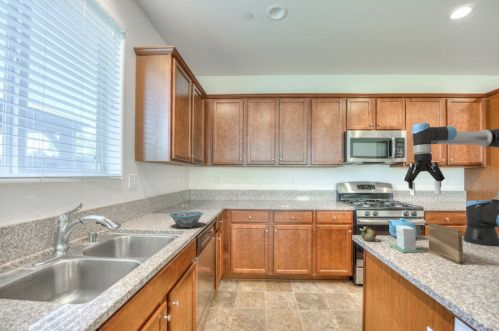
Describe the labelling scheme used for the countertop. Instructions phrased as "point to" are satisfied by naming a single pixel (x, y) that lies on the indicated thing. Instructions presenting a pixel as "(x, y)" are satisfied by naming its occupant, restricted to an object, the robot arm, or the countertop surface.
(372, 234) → the onion
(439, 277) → the countertop surface
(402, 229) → the small box
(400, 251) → the mat
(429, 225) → the screen
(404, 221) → the teapot
